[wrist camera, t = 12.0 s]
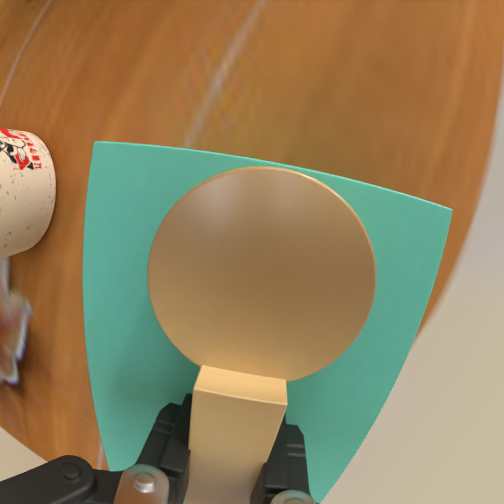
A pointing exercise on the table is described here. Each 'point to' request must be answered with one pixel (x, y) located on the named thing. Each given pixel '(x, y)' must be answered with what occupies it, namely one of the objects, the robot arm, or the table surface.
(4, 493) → the robot arm
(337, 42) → the table surface
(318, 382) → the lunchbox lid
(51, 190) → the teacup with lid
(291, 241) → the spoon
